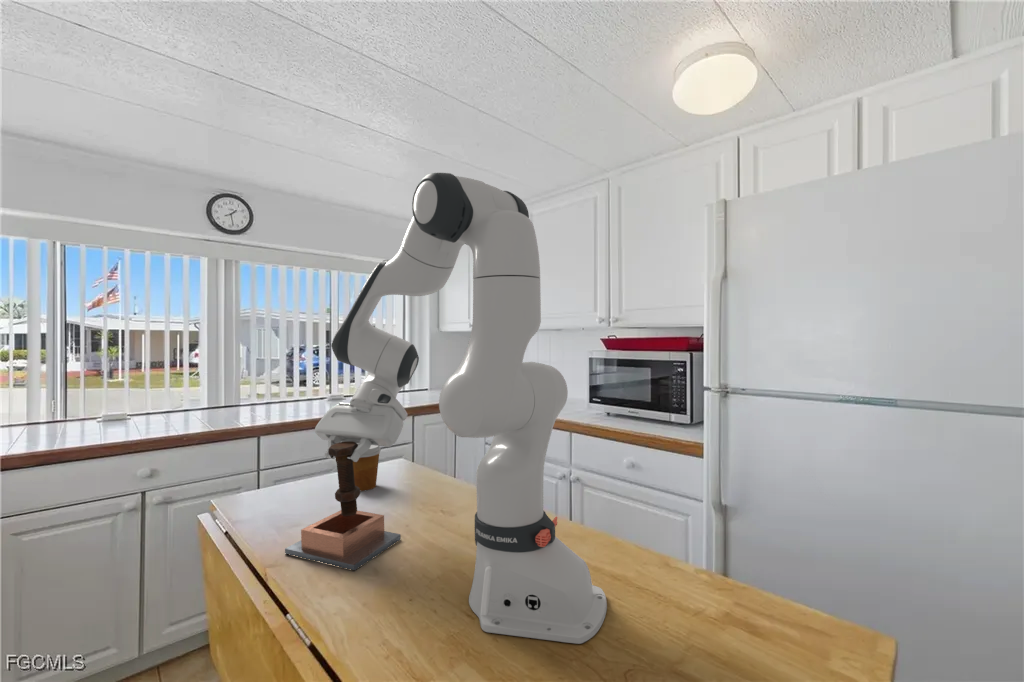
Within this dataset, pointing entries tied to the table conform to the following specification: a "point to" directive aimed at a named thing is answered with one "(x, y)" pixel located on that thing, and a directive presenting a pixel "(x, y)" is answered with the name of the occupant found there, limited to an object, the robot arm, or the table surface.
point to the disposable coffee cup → (367, 468)
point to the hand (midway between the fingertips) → (340, 458)
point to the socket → (344, 539)
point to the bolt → (345, 477)
